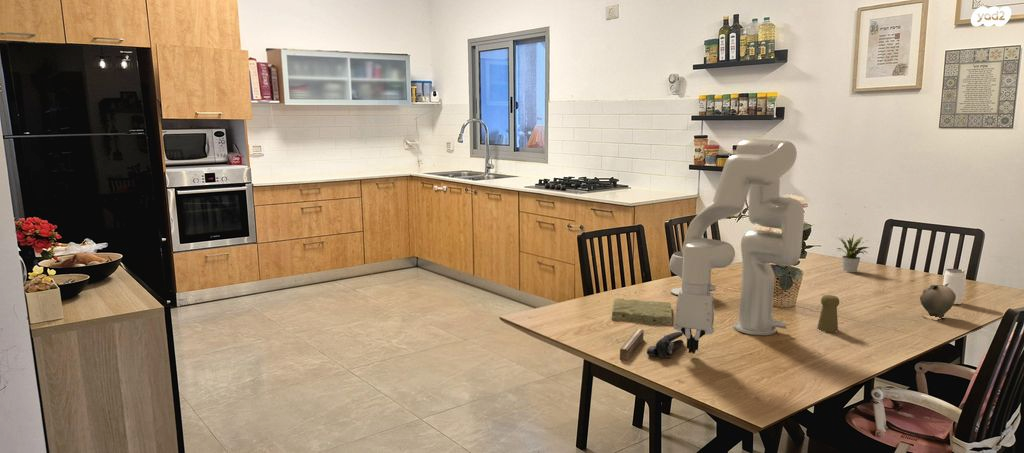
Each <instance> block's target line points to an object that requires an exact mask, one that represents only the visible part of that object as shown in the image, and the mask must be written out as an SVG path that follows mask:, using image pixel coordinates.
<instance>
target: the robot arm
mask: <svg viewBox="0 0 1024 453" xmlns="http://www.w3.org/2000/svg"><path fill="white" fill-rule="evenodd" d="M735 150H736V151H735V152H736V153H735V154H733V155H730V156H729V157H728V158H727V159H726V161H725V163H724V165H723V168H722V171H721V175H720V177H719V180H718V184H717V188H716V190H715V192H714V196H713V199H712V202H710V203H709V204H708V205H707V206H705V207H704V208H703V209H702V210H701V211H700V212H699V213H698V214H697V215H696V216H695V217H694V218H693V219H692V220H691V221H690V223H689V226H688V227H687V231H686V234H685V237H684V241H683V245H682V251H683V273H682V278H681V288H682V290H680V291H679V294H678V295H677V300H676V305H675V312H674V325H673V329H674V330H676V331H677V332H682V333H683V336H685V338H686V349H687V350H688V351H687V352H688V354H693V355H694V354H696V351H699V346H700V345H699V344H700V343H699V342H700V338H702V337H703V336H705V335H706V336H707V335H713V334H714V328H713V326H714V320H715V301H714V294H713V293H712V292H713V291H714V292H716V288H717V287H716V285H712V283H711V279H712V277H711V276H712V269H722V268H723V269H724V268H727V267H729V266H730V265H731V264H732V263H733V262H734V260H735V257H736V251H735V248H734V247H733V245H732V244H731V243H729V242H727V241H723V240H718V239H713V238H707V237H703V236H704V234H705V232H706V230H707V229H708V228H709V227H710V226H711V225H713V224H714V223H717V222H718V221H720V220H724V219H726V218H729V217H733V216H735V215H736V216H737V215H738V214H740V213H741V212H743V210H744V207H745V204H746V200H747V197H748V210H747V211H748V212H747V214H748V221H749V223H751V224H752V225H755V226H757V227H758V226H759V227H764V228H770V229H771V228H772V229H779V230H781V232H775V231H771V230H770V231H769V230H761V229H752V230H751V229H750V230H749V231H746V232H745V233H744V234H743V235H742V237H741V241H740V250H741V260H742V273H741V286H740V287H741V289H740V303H739V318H738V319H739V320H737V321H734V323H733V328H734V330H736V331H737V332H740V333H744V334H747V335H750V336H751V335H753V336H771V335H774V334H775V333H776V332H777V328H779V329H783V330H787V327H788V326H787V325H788V322H786V321H785V322H784V321H783V320H777V319H775V318H774V314H773V305H774V291H775V278H776V277H775V273H774V270H773V267H772V266H771V264H772V265H779V266H783V267H784V266H786V267H791V266H794V265H797V263H798V262H799V260H800V257H801V255H802V247H803V246H802V245H803V235H804V234H803V233H804V232H803V231H804V223H805V221H804V220H805V211H804V207H803V205H802V203H801V202H800V201H799V200H797V199H796V198H792V197H782V196H781V195H780V187H781V185H780V184H781V182H780V180H781V179H780V178H782V177H783V176H784V175H785V174H786V173H788V172H789V171H790V170H791V169H792V167H793V166H794V164H795V163H796V160H797V154H798V152H797V148H796V146H795V144H794V143H793V142H791V141H789V140H788V141H787V140H779V139H778V140H776V139H756V138H755V139H754V138H753V139H752V138H751V139H743V140H741V141H740V142H738V143H737V146H736V149H735ZM748 194H749V195H748ZM692 330H695V334H694V336H693V332H692Z"/></svg>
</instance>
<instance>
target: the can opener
mask: <svg viewBox="0 0 1024 453" xmlns="http://www.w3.org/2000/svg"><path fill="white" fill-rule="evenodd" d="M682 336H684V334H683V333H682V332H681V331H677V332H673V333H670V334H664V336H663V337H662V338H660V339H659V340H658V341H657V342H656V344H655V345H652V346H651V345H650V346H649V347H648V348H647V349H646V355H648V356H653V357H658V356H659V357H661V358H669V357H672V356H673V354H672V353H673V349H676V348H679V347H680V346H682V345H683V344H684V341H683V339H679V338H681V337H682ZM676 339H677V340H676Z"/></svg>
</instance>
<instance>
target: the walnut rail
mask: <svg viewBox="0 0 1024 453" xmlns="http://www.w3.org/2000/svg"><path fill="white" fill-rule="evenodd" d="M644 332H645V330H644V329H642V328H637V329H636V330H635V331H634V332H632V335H630V337H629V338H628V339H627V340H626V341H625V342H624V344H623V345H622V346H621V347H620V348H619V360H623V361H628V360H629V358H630V357H631V356H632V355H633V353H634V352H635V351H636V349H637V348H638V347H639V345H641V343H642V342H643V341H644V334H645V333H644Z"/></svg>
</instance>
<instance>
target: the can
mask: <svg viewBox="0 0 1024 453" xmlns="http://www.w3.org/2000/svg"><path fill="white" fill-rule="evenodd" d="M943 276H944V277H943V284H942V285H946V284H948V283H949V284H948V285H947V287H949V288H950V289H951V290H952V291H953V292H954V293H955V295H956V298H955V303H960V302H962V303H963V300H964V295H965V294H964V292H965V285H966V279H967V278H966V277H967V276H966V273H965V270H962V269H958V268H957V269H956V268H946V271H945V272H944V275H943Z"/></svg>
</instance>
